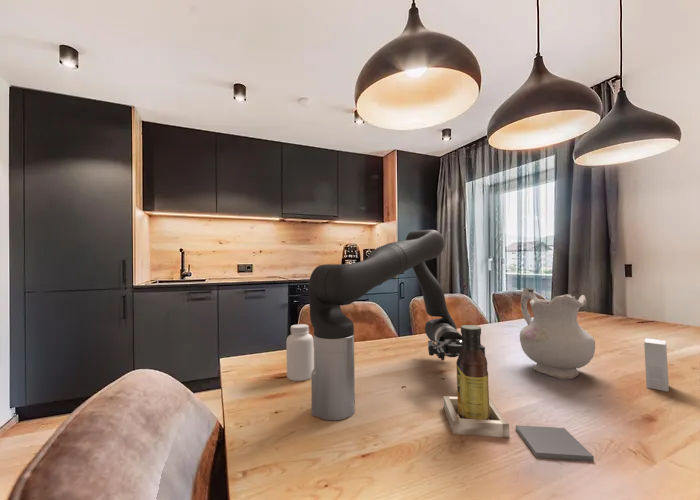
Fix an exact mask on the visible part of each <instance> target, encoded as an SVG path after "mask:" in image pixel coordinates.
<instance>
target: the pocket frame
mask: <svg viewBox="0 0 700 500" xmlns="http://www.w3.org/2000/svg"><path fill="white" fill-rule="evenodd" d="M442 400H443V409H444V413H445V414H446V418H447V420H448V424H449V426H450V429H451V433H452V434H453V435H462V436H476V437H477V436H479V437H480V436H481V437H495V438H496V437H497V438H499V437H500V438H508V439H509V438H510V423H509V422H508V421H507V419H506V418H505V416H504V415H503V414H502V412H501V410H500V409H499V408H498V407H497V405H496V404H495V403H494V401H493V400H492V399H491V398H490V397H489V420H480V419H462V418H460V417H459V416H458V415H457V412H456V411H458V397H457V396H444V395H443V398H442ZM458 417H459V418H458Z"/></svg>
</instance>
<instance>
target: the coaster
mask: <svg viewBox="0 0 700 500" xmlns="http://www.w3.org/2000/svg"><path fill="white" fill-rule="evenodd" d="M515 430H516V432H517V434H518V435H520V437H521V438H522V440H523V441H524V443H525V444H526V445H527V446H528V448H529V449H530V451H531V453H533V455H534V456H535V457H536V458H541V459H542V458H544V459H545V458H546V459H556V460H558V459H559V460H561V459H562V460H571V461H586V462H594V461H595V460H594V459H595V458H594V455H593V454H592V453H591V452H590V451H589V450H588V449H586V448H585V446H583V444H581V442H580V441H578V439H577V438H576V437H574V436H573V435H572V434H571V433H570V432H569V431H568V430H567V429H566V428H565V427H555V426H554V427H553V426H551V427H550V426H537V425H536V426H534V425H519V424H518V425H515Z"/></svg>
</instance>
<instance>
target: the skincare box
mask: <svg viewBox="0 0 700 500" xmlns="http://www.w3.org/2000/svg"><path fill="white" fill-rule="evenodd" d="M643 343H644V344H643V345H644V362H645V363H644V364H645V380H646V383H645V385H646V388H648V389H653V390H658V391H662V392H665V393H666V392H667V393H668V392H670V391H669V389H670V383H669V368H668V349H667V348H668V347H667V341H666V340H664V339H663V340H662V339H653V338H644V342H643Z"/></svg>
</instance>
